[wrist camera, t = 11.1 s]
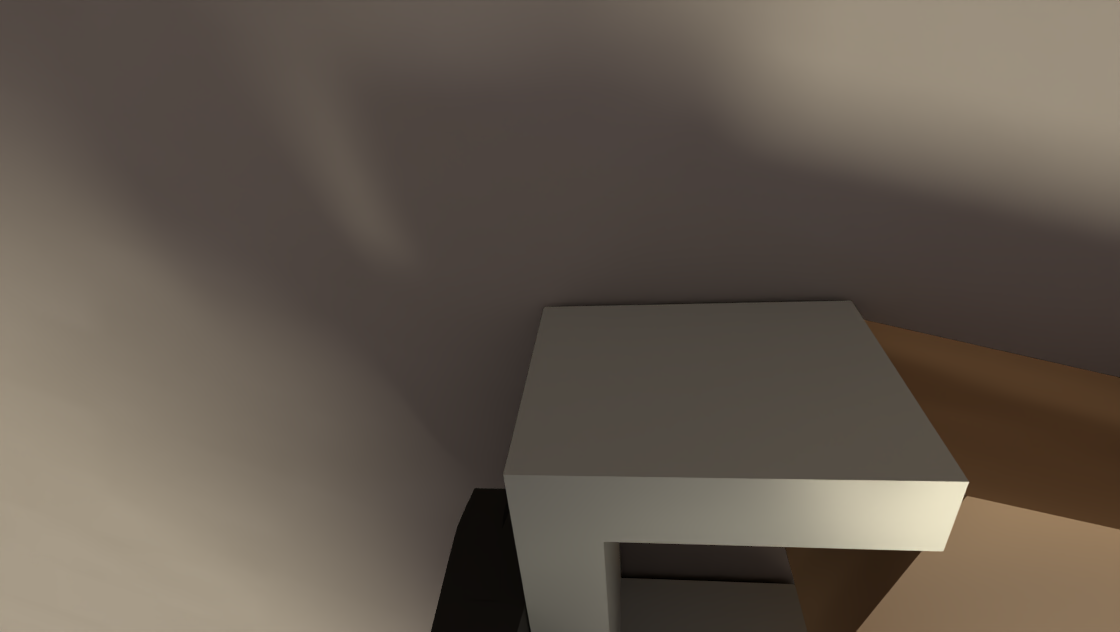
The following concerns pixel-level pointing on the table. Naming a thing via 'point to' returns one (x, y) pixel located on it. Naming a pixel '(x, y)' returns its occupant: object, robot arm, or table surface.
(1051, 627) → the brown wooden block
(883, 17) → the table surface
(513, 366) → the table surface
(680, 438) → the cap
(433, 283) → the table surface
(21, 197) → the table surface
